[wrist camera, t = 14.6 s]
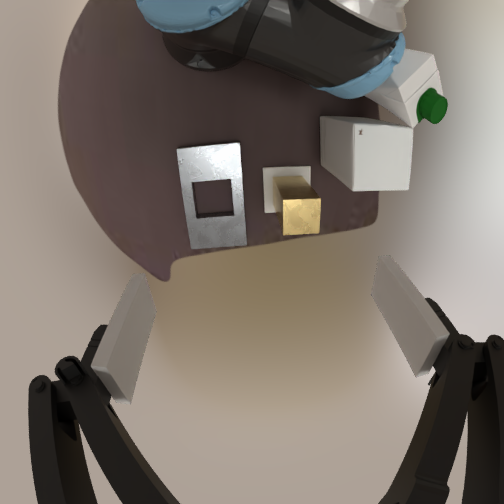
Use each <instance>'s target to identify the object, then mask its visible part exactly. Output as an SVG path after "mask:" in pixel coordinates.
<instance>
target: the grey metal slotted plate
mask: <svg viewBox="0 0 504 504" xmlns="http://www.w3.org/2000/svg"><path fill="white" fill-rule="evenodd" d="M177 157H178V165H179V172H180V180H181V187H182V194H183V201H184V207H185V214H186V220H187V226H188V233H189V238H190V244H191V249H199V248H213V247H226V246H240V245H247V239H246V226H245V212H244V198H243V183H242V169H241V155H240V141H238V142H225V143H214V144H204V145H195V146H187V147H179V148H178V149H177ZM220 179H231V182H232V194H233V206H234V211H233V212H220V213H208V214H198V212H197V205H196V197H195V190H194V182H199V181H209V180H220Z"/></svg>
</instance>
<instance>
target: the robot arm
mask: <svg viewBox="0 0 504 504" xmlns="http://www.w3.org/2000/svg"><path fill="white" fill-rule="evenodd" d="M408 1H409V0H136V3H137V6H138V8H139V10H140V11H141V13H142V14H143V16H144V18H145V20H146V21H147V22H148V23H150V25H151V26H154V28H156V29H158V30H159V31H161V32H162V33H163V40H164V44H165V46H166V48H167V50H168V52H169V53H170V54H171V55H172V57H173V58H174V59H176V60H177V61H178V62H180V63H181V64H183V65H184V66H186V67H189V68H191V69H195V70H199V71H219V70H223V69H227V68H230V67H232V66H234V65H236V64H238V63H240V62H241V61H243V60H244V59H245V58H246V59H249V60H251V61H254V62H257V63H259V64H262V65H265V66H267V67H270V68H272V69H275V70H277V71H280V72H282V73H285V74H287V75H289V76H291V77H294V78H296V79H298V80H300V81H303V82H305V83H307V84H309V85H310V86H311V87H313V88H316V89H318V90H323V91H326V92H328V93H331V94H333V95H335V96H337V97H340V98H344V99H353V98H358V97H361V96H364V95H366V94H368V93H370V92H372V91H373V90H375V89H376V88H377V87H379V86H380V85H381V84H382V83H383V82H385V81H386V80H387V79H388V77H389V76H390V75H391V74H392V73H393V67H394V66H395V65H397V64H399V63H400V61H401V59H402V57H403V54H404V50H405V38H404V35H403V34H402V31H403V30H404V29H405V28H406V26H407V24H406V18H405V14H404V5H405V4H406V3H407V2H408ZM371 296H372V297H373V299H374V300H375V302H376V304H377V306H378V308H379V309H380V311H381V313H382V314H383V316H384V318H385V320H386V322H387V323H388V325H389V327H390V329H391V331H392V333H393V334H394V336H395V338H396V340H397V342H398V344H399V346H400V348H401V349H402V351H403V353H404V355H405V357H406V359H407V361H408V363H409V365H410V367H411V369H412V371H413V373H414V375H415V377H419V376H422V375H426V374H428V373H429V371H430V370H431V368H432V366H433V367H434V368H435V370H436V372H435V374H434V375H433V377H432V378H431V380H430V381H429V383H428V385H430V384H431V386H430V389H429V393H428V396H427V399H426V402H425V405H424V408H423V411H422V414H421V417H420V420H419V423H418V425H417V428H416V431H415V434H414V436H413V438H412V441H411V443H410V446H409V448H408V450H407V453H406V455H405V457H404V460H403V462H402V464H401V466H400V468H399V471H398V472H397V474H396V476H395V478H394V480H393V482H392V485H391V486H390V488H389V490H388V492H387V493H386V495H385V496H384V497H383V498H382V499H381V501H380V502H379V503H378V504H445V503H446V500H447V498H448V495H449V487H448V486H447V481H448V478H449V475H450V472H451V469H452V466H453V463H454V460H455V457H456V453H457V450H458V447H459V443H460V440H461V436H462V432H463V428H464V424H465V419H466V415H467V412H468V442H467V462H466V474H465V483H464V491H463V498H462V504H504V340H503V338H501V337H500V336H498V335H490V336H489V337H488V339H487V340H486V342H483V343H482V342H481V343H480V342H474V340H473V339H472V338H470V337H469V336H467V335H463V334H459V333H458V331H457V330H456V328H455V327H454V326H453V324H452V323H451V322H450V320H449V319H448V317H447V316H446V315H445V313H444V312H443V311H442V309H441V308H440V307H439V306H438V304H437V303H436V302H435V301H433V300H432V299H430V298H425V299H424V297H423V296H422V295H421V293H420V292H419V291H418V289H417V288H416V287H415V286H414V285H413V283H412V282H411V280H410V279H409V278H408V277H407V276H406V274H405V273H404V272H403V270H402V269H401V268H400V267H399V265H398V264H397V263H396V262H395V261H394V259H393V258H392V257H391V256H390V255H386V256H379V257H378V263H377V268H376V273H375V278H374V283H373V288H372V293H371ZM156 312H157V311H156V308H155V305H154V301H153V298H152V295H151V292H150V288H149V285H148V282H147V278H146V275H145V273H143V274H133V275H132V277H131V279H130V280H129V283H128V284H127V287H126V288H125V290H124V292H123V294H122V296H121V299H120V301H119V303H118V305H117V307H116V309H115V311H114V313H113V315H112V318H111V320H110V322H109V324H108V325H100V326H99V327H98V328H97V329H96V331H94V334H93V336H92V338H91V341H90V342H89V344H88V347H87V349H86V351H85V353H84V355H83V358H82V360H81V362H80V360H79V359H78V358H77V357H75V356H67V357H65V358H63V359H61V360H60V361H59V362H58V364H57V365H56V368H55V374H56V375H57V377H58V378H59V379H60V380H58V381H52V382H51V380H50V379H49V378H48V377H47V376H45V375H39V376H37V377H35V378H34V379H33V380H32V381H31V383H30V386H29V402H28V406H29V408H28V416H29V439H30V453H31V463H32V471H33V478H34V485H35V490H36V496H37V501H38V504H98V503H97V500H96V497H95V494H94V490H93V487H92V484H91V479H90V476H89V472H88V468H87V464H86V460H85V455H84V450H83V445H82V440H81V434H80V429H79V424H80V427H81V429H82V431H83V433H84V435H85V437H86V440H87V442H88V444H89V446H90V448H91V450H92V452H93V454H94V456H95V458H96V460H97V462H98V464H99V465H100V467H101V469H102V471H103V472H104V474H105V476H106V478H107V479H108V481H109V483H110V484H111V486H112V488H113V489H114V491H115V493H116V494H117V496H118V497H119V499H120V500H121V502H122V503H123V504H180V503H179V502H178V501H177V499H176V498H175V497H174V496H173V495H172V493H171V492H170V491H169V490H168V489H167V488H166V486H165V485H164V484H163V482H162V481H161V480H160V478H159V477H158V476H157V475H156V473H155V472H154V471H153V469H152V468H151V467H150V465H149V464H148V462H147V461H146V460H145V458H144V457H143V455H142V454H141V452H140V451H139V450H138V448H137V446H136V445H135V443H134V442H133V440H132V439H131V437H130V436H129V434H128V432H127V431H126V429H125V428H124V426H123V424H122V423H121V421H120V419H119V418H118V416H117V414H116V413H115V411H114V409H113V407H112V406H111V404H110V403H109V402H110V399H111V396H112V397H113V399H114V400H115V402H116V403H124V404H131V401H132V397H133V393H134V389H135V385H136V381H137V378H138V373H139V370H140V366H141V363H142V359H143V355H144V352H145V348H146V345H147V341H148V338H149V335H150V331H151V328H152V325H153V322H154V319H155V315H156Z"/></svg>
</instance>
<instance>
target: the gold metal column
mask: <svg viewBox="0 0 504 504" xmlns="http://www.w3.org/2000/svg"><path fill="white" fill-rule="evenodd" d="M273 205H274V208H275V211H276V214H277V217H278V220H279V223H280V227H281V230H282V233H283V235H294V234H311V233H319V226H320V206H321V198H320V197H319V196H318V195H317V193H316V192H315V191H314V190H313V188H312V187H311V186H310V185H309V184H308V182H307V181H306V180H305V179H304V178H303V176H281V177H273Z"/></svg>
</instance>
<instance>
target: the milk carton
mask: <svg viewBox="0 0 504 504" xmlns="http://www.w3.org/2000/svg"><path fill="white" fill-rule="evenodd" d="M364 96H366V97H368V98H369V99H371V100H373V101H374V102H376V103H378V104H380V105H381V106H383V107H385V108H386V109H387V110H389V111H390V112H392V113H393V114H394V115H396V116H397V117H399V118H400V119H401V120H403V121H404V122H405V123H406V124H408V125H409V126H410V127H411V128H414V127H415V125H416V124H417V123H419V122H420V121H421V120H422V119H423V118H425V119H427V120H428V121H430V122H431V123H433V124H437V123H439V122H440V121H441V120H442V118H443V117H444V116H445V114H446V111H447V106H448V103H447V99H445V97H443V92H442V86H441V81H440V74H439V70H438V69H437V66H436V62H435V58H434V55H433V54H430V53H425V52H421V51H416V50H411V49H406V48H405V50H404V54H403V57H402V59H401V61H400V63H399V64H397V65H395V66H394V67H393V73H392V74H391V75H390V76H389V77H388V79H387V80H386V81H385V82H383V83H382V84H381V85H380V86H379V87H377V88H376V89H375V90H373V91H372V92H370V93H368V94H366V95H364Z"/></svg>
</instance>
